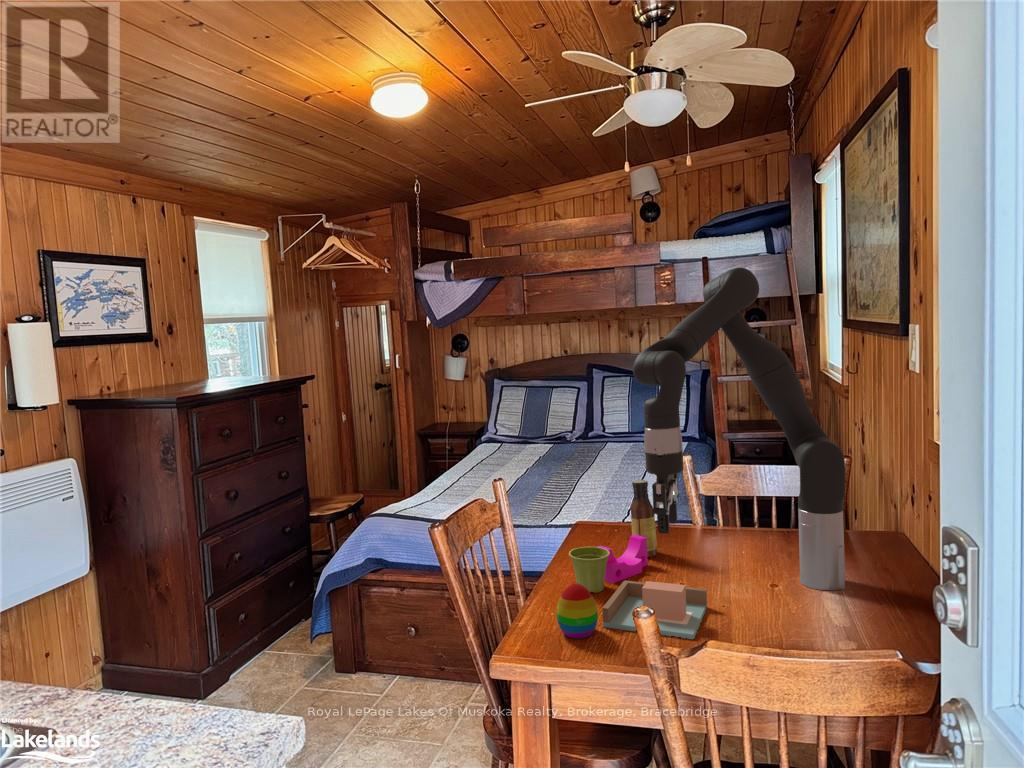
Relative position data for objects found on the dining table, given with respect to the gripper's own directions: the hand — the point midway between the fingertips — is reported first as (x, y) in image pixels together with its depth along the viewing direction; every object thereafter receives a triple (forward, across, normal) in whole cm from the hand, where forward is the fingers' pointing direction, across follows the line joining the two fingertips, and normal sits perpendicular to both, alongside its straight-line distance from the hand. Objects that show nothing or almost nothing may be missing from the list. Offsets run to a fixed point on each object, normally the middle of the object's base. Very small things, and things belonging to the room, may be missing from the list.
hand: (667, 526), depth 139 cm
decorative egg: (+19, +13, -16) cm, 28 cm away
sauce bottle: (+19, -37, -14) cm, 44 cm away
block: (+18, +2, -1) cm, 18 cm away
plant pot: (+19, -10, -21) cm, 30 cm away
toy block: (+19, -23, -16) cm, 34 cm away
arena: (+19, +1, -3) cm, 19 cm away
